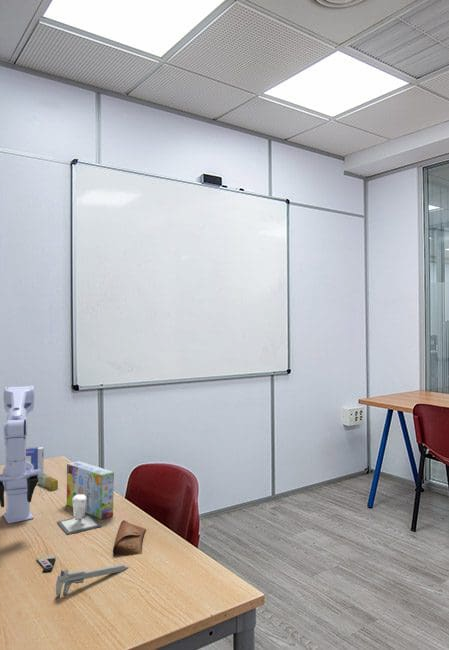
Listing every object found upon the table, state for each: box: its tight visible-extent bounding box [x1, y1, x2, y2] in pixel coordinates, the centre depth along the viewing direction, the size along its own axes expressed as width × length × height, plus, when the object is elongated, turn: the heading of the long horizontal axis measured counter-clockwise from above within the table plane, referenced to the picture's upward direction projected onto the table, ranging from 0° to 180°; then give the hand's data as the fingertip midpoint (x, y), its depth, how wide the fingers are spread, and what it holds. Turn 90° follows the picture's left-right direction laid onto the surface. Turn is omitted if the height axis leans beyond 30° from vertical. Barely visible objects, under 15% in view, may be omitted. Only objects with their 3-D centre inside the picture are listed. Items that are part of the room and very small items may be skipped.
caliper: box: [55, 564, 130, 598], centre depth 128 cm, size 20×1×6 cm, turn 136°
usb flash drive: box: [35, 555, 57, 573], centre depth 137 cm, size 9×5×1 cm, turn 9°
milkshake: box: [72, 494, 88, 525], centre depth 163 cm, size 4×5×10 cm
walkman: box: [26, 446, 45, 474], centre depth 214 cm, size 8×3×12 cm, turn 102°
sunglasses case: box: [112, 519, 147, 557], centre depth 151 cm, size 18×7×7 cm, turn 6°
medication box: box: [37, 472, 59, 492], centre depth 200 cm, size 12×3×4 cm, turn 47°
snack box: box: [66, 460, 115, 520], centre depth 176 cm, size 21×6×15 cm, turn 50°
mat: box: [56, 514, 102, 535], centre depth 163 cm, size 11×11×1 cm
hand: (15, 503), depth 153 cm, fingers open, 7 cm apart
